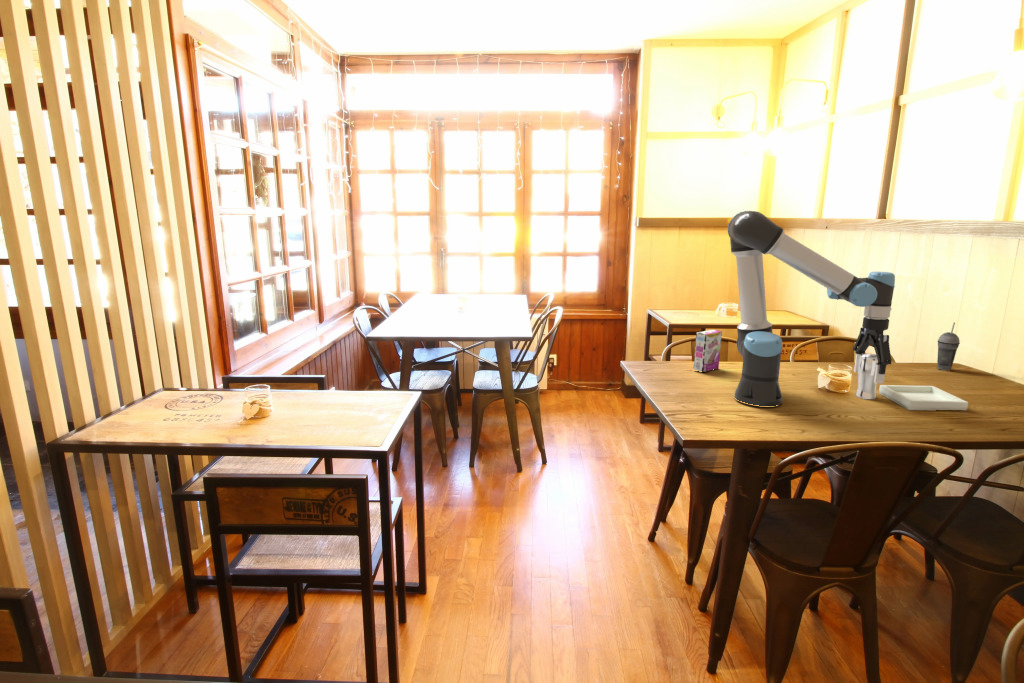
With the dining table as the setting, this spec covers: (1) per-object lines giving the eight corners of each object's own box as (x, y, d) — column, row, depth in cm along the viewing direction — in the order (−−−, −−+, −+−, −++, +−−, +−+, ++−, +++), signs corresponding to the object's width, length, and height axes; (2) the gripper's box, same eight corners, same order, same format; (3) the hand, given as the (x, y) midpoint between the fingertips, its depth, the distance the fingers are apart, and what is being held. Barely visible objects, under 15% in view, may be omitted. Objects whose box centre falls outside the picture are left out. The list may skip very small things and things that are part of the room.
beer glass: (881, 398, 196) (887, 357, 192) (867, 401, 193) (873, 359, 190) (863, 392, 202) (868, 352, 199) (849, 395, 200) (854, 354, 196)
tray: (908, 409, 184) (909, 401, 184) (878, 392, 202) (879, 384, 201) (966, 411, 183) (968, 402, 182) (931, 393, 200) (933, 385, 200)
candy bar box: (703, 373, 228) (705, 334, 224) (692, 371, 232) (695, 332, 228) (719, 369, 234) (722, 330, 231) (709, 366, 238) (712, 328, 235)
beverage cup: (945, 367, 235) (953, 320, 230) (959, 371, 228) (968, 323, 223) (928, 367, 234) (936, 320, 230) (942, 372, 227) (950, 323, 223)
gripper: (909, 324, 179) (900, 388, 184) (868, 311, 203) (861, 367, 208) (885, 324, 180) (876, 387, 184) (847, 311, 204) (840, 367, 209)
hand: (868, 377), depth 196 cm, fingers open, 13 cm apart
